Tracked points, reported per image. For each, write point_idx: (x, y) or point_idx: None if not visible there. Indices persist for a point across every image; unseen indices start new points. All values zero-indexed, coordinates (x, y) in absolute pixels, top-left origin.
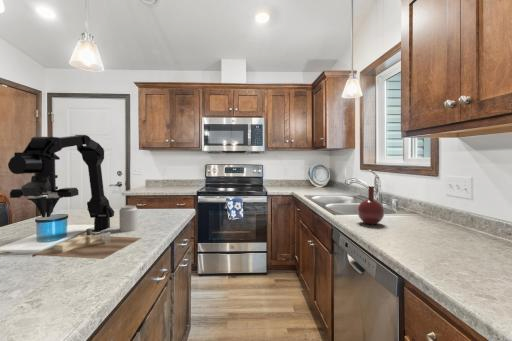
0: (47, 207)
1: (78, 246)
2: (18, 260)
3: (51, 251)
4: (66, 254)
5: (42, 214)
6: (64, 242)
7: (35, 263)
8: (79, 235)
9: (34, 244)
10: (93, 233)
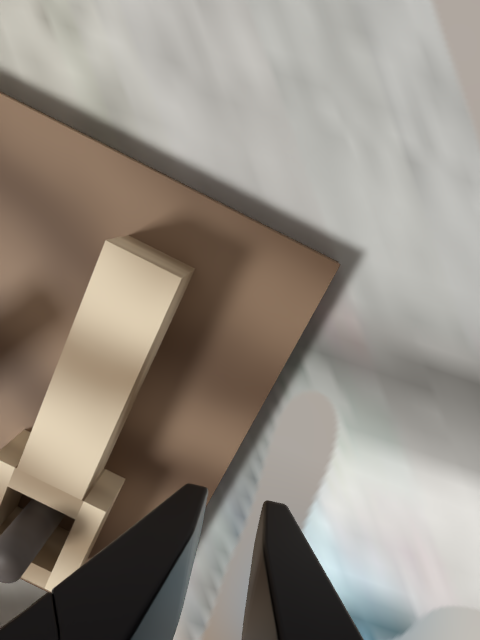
0: (91, 621)
1: None
2: (415, 225)
3: (225, 301)
4: (84, 183)
5: (274, 530)
6: (128, 339)
7: (264, 107)
8: (89, 516)
9: (434, 578)
10: None
